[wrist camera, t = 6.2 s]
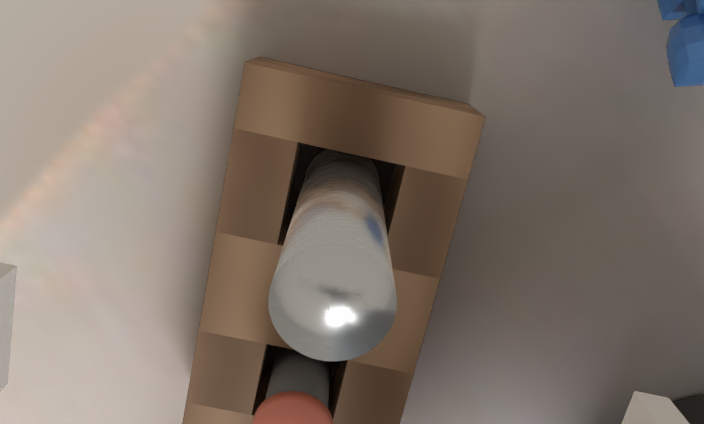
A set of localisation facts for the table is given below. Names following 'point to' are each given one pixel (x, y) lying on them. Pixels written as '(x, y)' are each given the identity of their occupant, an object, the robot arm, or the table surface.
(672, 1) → the grapes
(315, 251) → the grey tall cylinder
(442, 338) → the table surface
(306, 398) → the plunger
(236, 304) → the socket block
